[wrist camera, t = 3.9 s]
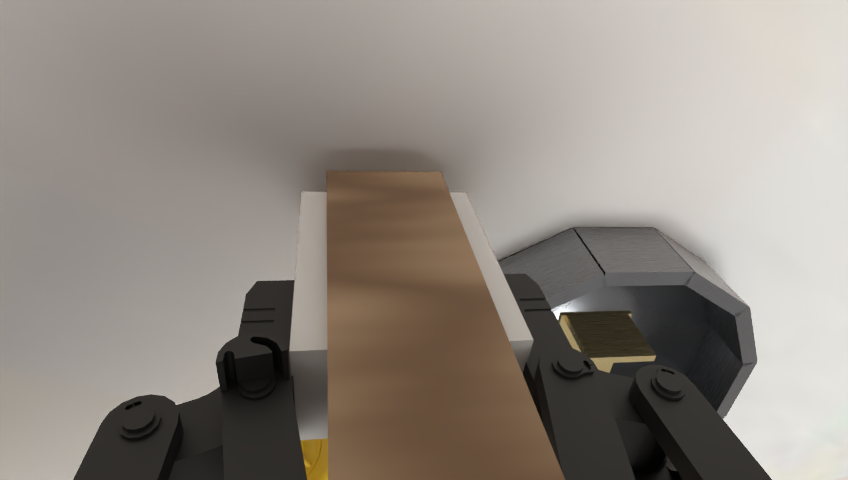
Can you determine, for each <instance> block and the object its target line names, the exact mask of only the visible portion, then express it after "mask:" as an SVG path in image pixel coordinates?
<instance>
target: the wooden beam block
mask: <svg viewBox="0 0 848 480" xmlns="http://www.w3.org/2000/svg"><path fill="white" fill-rule="evenodd" d="M326 181H327V370H328V480H565V478H564V475H563V473H562V470H561V468H560V466H559V463H558V461H557V458H556V456H555V453H554V451H553V448H552V446H551V443H550V441H549V438H548V436H547V433H546V431H545V428H544V426H543V423H542V421H541V418H540V416H539V414H538V411H537V409H536V406H535V404H534V401H533V399H532V396H531V394H530V391H529V389H528V386H527V384H526V381H525V379H524V376H523V374H522V371H521V369H520V366H519V364H518V361H517V359H516V357H515V354H514V352H513V349H512V347H511V344H510V342H509V339H508V337H507V334H506V332H505V329H504V327H503V324H502V322H501V319H500V317H499V314H498V312H497V309H496V307H495V305H494V302H493V300H492V297H491V295H490V292H489V290H488V287H487V285H486V282H485V280H484V277H483V275H482V272H481V270H480V267H479V265H478V262H477V260H476V257H475V255H474V252H473V250H472V248H471V245H470V243H469V240H468V238H467V235H466V233H465V230H464V228H463V225H462V223H461V220H460V218H459V215H458V213H457V210H456V208H455V205H454V203H453V200H452V198H451V196H450V193H449V191H448V188H447V186H446V183H445V181H444V178H443V176H442V173H441V172H419V171H326Z"/></svg>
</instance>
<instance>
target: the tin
mask: <svg viewBox="0 0 848 480" xmlns="http://www.w3.org/2000/svg"><path fill="white" fill-rule="evenodd" d="M498 263H499V266H500V268H501V270H502V272H503V274H527V275H528V276H529V277H530V278H531V279H532V280H534V281H535V282H536V283H537V284H538V285H539V286H540V288H541V290H542V292H543V294H544V296H545V298H546V301H548V303H549V305H550V307H551V311H553V313H554V314H555V316H556V318H557V320H558V322H559V324H560V326H561V328H562V329H563V331H564V333H565V335H566V337H567V339H568V341H569V343H570V344H571V346H572V348H573V349H576V350H578V351H580V352H582V353H584V354H585V355H587V356H588V357H589V358H590V359H591V360H592V361H593V362H594V363H595V365H596V367H597V368H598V370H601V371H604V372H608V373H612V374H617V375H622V376H627V377H632V378H635V375H636V373H637V372H638V371H639V370H640V368H641V367H644V366H647V365H650V364H651V365H663V366H666V367H669V368H673V369H675V370H676V371H678V372H680V373H682V374H683V375H685V376H686V377H687V378H688V379H689V380H690V381H691V382H692V383H693V384H694V385H695V386H696V387H697V389H698V390H699V391H700V392H701V393H702V395H703V396H704V397H705V398H706V400H707V401H708V402H709V403H710V404H711V406H712V407H713V408H714V409H715V411H716V412H717V413H718V414H719V415H720V417H721V418H722V419H723V418H724V416H726V415H727V413H728V412H729V410H730V408H731V406H732V405H733V403H734V401H735V399H736V398H737V396H738V394H739V393H740V391H741V389H742V387H743V386H744V384H745V382H746V381H747V379H748V377H749V375H750V374H751V372H752V370H753V369H754V367H755V365H756V363H757V356H756V348H755V341H754V334H753V326H752V319H751V312H750V308H749V306H748V305H747V304H746V303H745V302H744V301H743V300H742V299H741V298H740V297H739V296H738V295H737V294H736V293H735V292H734V291H733V290H732V289H731V288H730V287H729V286H728V285H727V284H726V283H725V282H724V281H723V280H722V279H721V278H720V277H719V276H718V275H717V274H716V273H715V272H714V271H713V270H712V269H711V268H710V267H709V266H708V265H707V264H706V263H705V262H704V261H703V260H701V259H700V258H698V257H697V256H695V255H694V254H692V253H691V252H689V251H688V250H686V249H685V248H683V247H682V246H680V245H679V244H677V243H676V242H674V241H673V240H671V239H670V238H668V237H667V236H665V235H664V234H662V233H661V232H659V231H658V230H656V229H654V228H574V230H573V229H569V230H567V231H565V232H563V233H560V234H558V235H556V236H554V237H552V238H549V239H547V240H545V241H543V242H541V243H538V244H536V245H534V246H532V247H530V248H527V249H525V250H523V251H521V252H519V253H516V254H514V255H512V256H510V257H508V258H505V259H503V260H501V261H499V262H498Z"/></svg>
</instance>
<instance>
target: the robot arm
mask: <svg viewBox="0 0 848 480" xmlns="http://www.w3.org/2000/svg"><path fill="white" fill-rule="evenodd" d="M449 193H450V196H451V198H452V200H453V203H454V205H455V208H456V210H457V213H458V215H459V218H460V220H461V223H462V225H463V228H464V230H465V233H466V235H467V238H468V240H469V243H470V245H471V248H472V250H473V252H474V255H475V257H476V260H477V262H478V265H479V267H480V270H481V272H482V275H483V277H484V280H485V282H486V285H487V287H488V290H489V292H490V295H491V297H492V300H493V302H494V305H495V307H496V309H497V312H498V314H499V317H500V319H501V322H502V324H503V327H504V329H505V332H506V334H507V337H508V339H509V342H510V344H511V347H512V349H513V352H514V354H515V357H516V359H517V361H518V364H519V366H520V369H521V371H522V374H523V376H524V379H525V381H526V384H527V386H528V389H529V391H530V394H531V396H532V399H533V401H534V404H535V406H536V409H537V411H538V414H539V416H540V418H541V421H542V423H543V426H544V428H545V431H546V433H547V436H548V438H549V441H550V443H551V446H552V448H553V451H554V453H555V456H556V458H557V461H558V463H559V466H560V468H561V470H562V473H563V475H564V478H565V480H772V479H771V478H770V477H769V475H768V474H767V473H766V472H765V471H764V469H763V468H762V467H761V466H760V464H759V463H758V462H757V461H756V460H755V458H754V457H753V456H752V455H751V453H750V452H749V451H748V450H747V449H746V447H745V446H744V445H743V444H742V442H741V441H740V440H739V439H738V438H737V436H736V435H735V434H734V433H733V431H732V430H731V429H730V428H729V426H728V425H727V424H726V423H725V422H724V420H723V419H722V418H721V417H720V415H719V414H718V413H717V412H716V411H715V409H714V408H713V407H712V406H711V404H710V403H709V402H708V401H707V400H706V398H705V397H704V396H703V395H702V393H701V392H700V391H699V390H698V389H697V387H696V386H695V385H694V384H693V383H692V382H691V381H690V380H689V379H688V378H687V377H686V376H685V375H683V374H682V373H680V372H678V371H676V370H675V369H673V368H669V367H666V366H663V365H651V364H650V365H647V366H644V367H641V368H640V370H639V371H638V372H637V373H636V375H635V378H632V377H627V376H622V375H617V374H612V373H608V372H604V371H601V370H598V368H597V367H596V365H595V363H594V362H593V361H592V360H591V359H590V358H589V357H588V356H587V355H585V354H584V353H582V352H580V351H578V350H576V349H573V348H572V346H571V344H570V343H569V341H568V339H567V337H566V335H565V333H564V331H563V329H562V328H561V326H560V324H559V322H558V320H557V318H556V316H555V314H554V313H553V311H551V307H550V305H549V303H548V301H546V298H545V296H544V294H543V292H542V290H541V288H540V286H539V285H538V284H537V283H536V282H535V281H534V280H532V279H531V278H530V277H529V276H528V275H527V274H503V272H502V270H501V268H500V266H499V263H498V261H497V259H496V257H495V255H494V252H493V250H492V248H491V246H490V244H489V241H488V239H487V237H486V235H485V233H484V231H483V228H482V226H481V224H480V222H479V220H478V217H477V215H476V213H475V211H474V209H473V207H472V204H471V202H470V200H469V198H468V196H467V193H466V192H449ZM216 366H217V372H218V378H219V384H220V387H218V388H217V389H216V390H214V391H213V392H211V393H209V394H208V395H205V396H203V397H200V398H198V399H195V400H192V401H189V402H185V403H182V404H179V405H175V403H174V402H173V401H171V400H170V399H168V398H167V397H165V396H158V395H146V396H139V397H135V398H133V399H130V400H128V401H126V402H123V403H121V404H120V405H119V406H117V407H116V408H115V409H113V410H112V411H111V412H110V413H109V414H108V415H107V417H106V418H105V419H104V421H103V422H102V423H101V425H100V427H99V429H98V431H97V433H96V435H95V437H94V439H93V441H92V443H91V445H90V447H89V449H88V451H87V453H86V455H85V457H84V459H83V461H82V463H81V465H80V467H79V469H78V471H77V473H76V475H75V477H74V479H73V480H307V475H306V470H305V464H304V458H303V452H302V446H301V441H300V440H312V439H326V438H328V370H327V192H301V204H300V217H299V230H298V243H297V257H296V270H295V280H286V281H257V282H256V283H255V284H254V286H253V287H252V288H251V289H250V290H249V292H248V293H247V294H246V298H245V303H244V309H243V314H242V319H241V324H240V329H239V335H238V336H237V337H235V338H234V339H232V340H230V341H229V342H227V343H226V344H225V345H224V346H223V347H222V348H221V350H220V351H219V352H218V355H217V359H216Z"/></svg>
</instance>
